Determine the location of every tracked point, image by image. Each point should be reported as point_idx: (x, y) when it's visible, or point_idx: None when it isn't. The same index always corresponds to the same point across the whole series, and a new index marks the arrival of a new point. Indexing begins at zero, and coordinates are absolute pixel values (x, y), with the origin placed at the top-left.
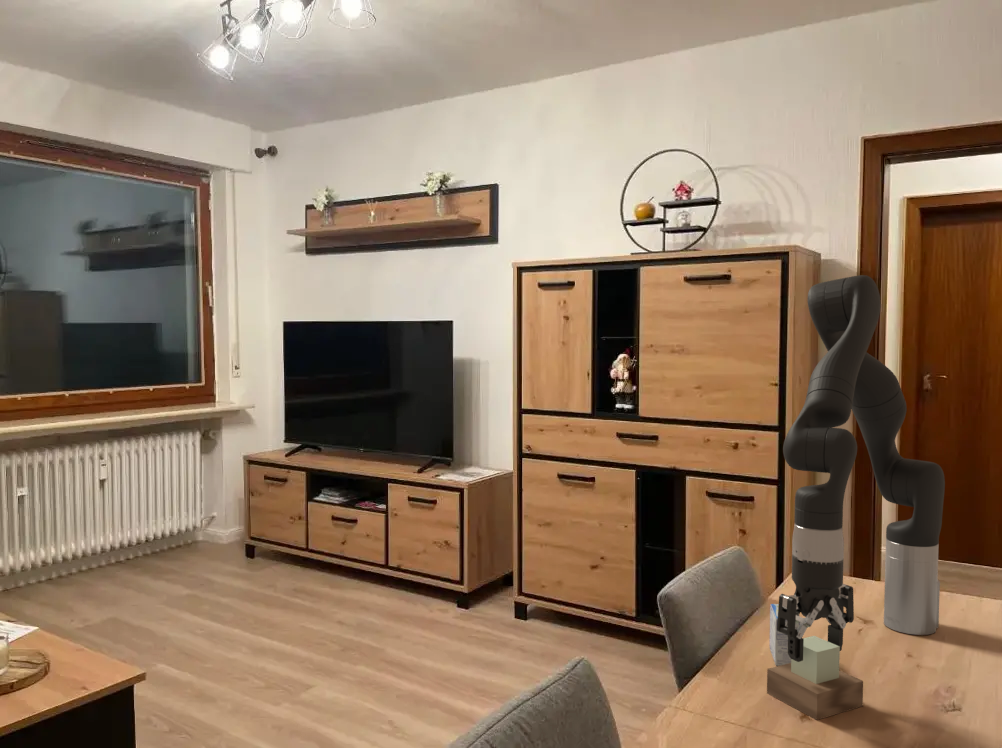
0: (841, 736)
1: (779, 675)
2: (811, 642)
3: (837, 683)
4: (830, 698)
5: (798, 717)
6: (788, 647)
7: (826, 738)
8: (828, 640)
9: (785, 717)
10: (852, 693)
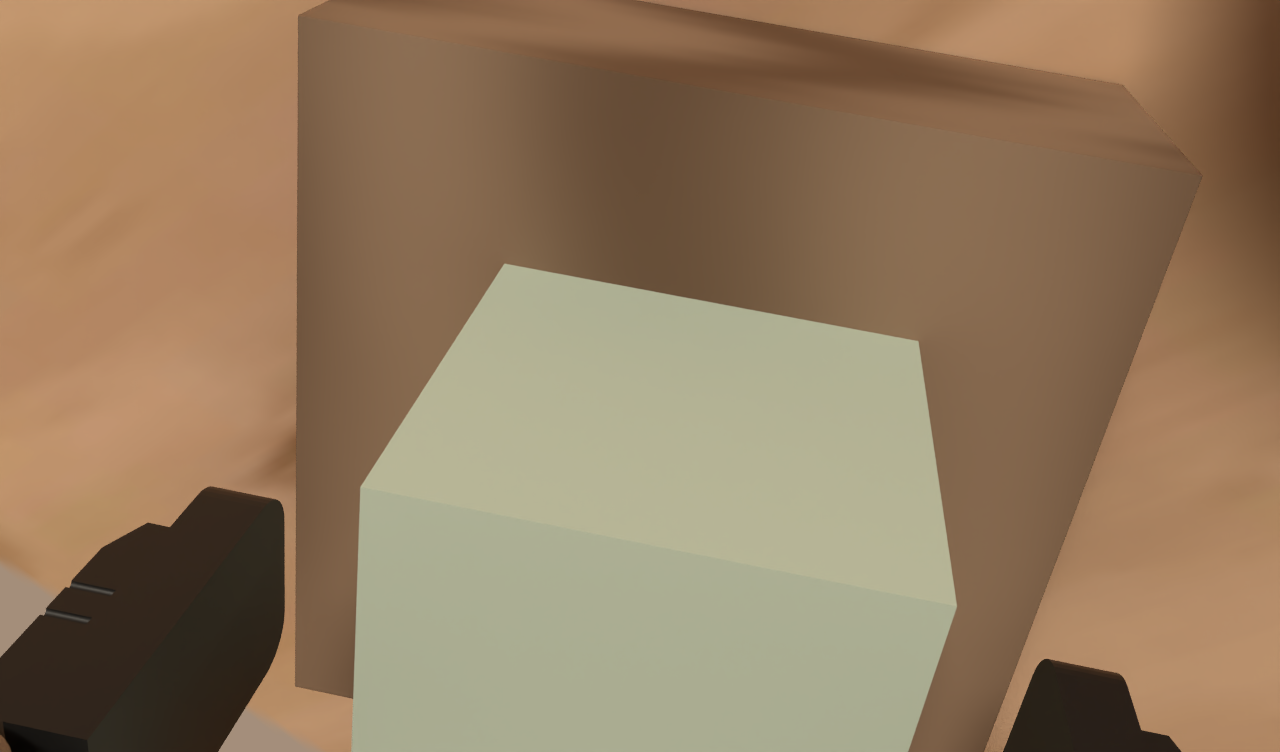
0: (342, 729)
1: (297, 228)
2: (606, 706)
3: None
4: None
5: (290, 427)
6: (56, 611)
7: None
8: (1065, 742)
9: (191, 363)
10: None
